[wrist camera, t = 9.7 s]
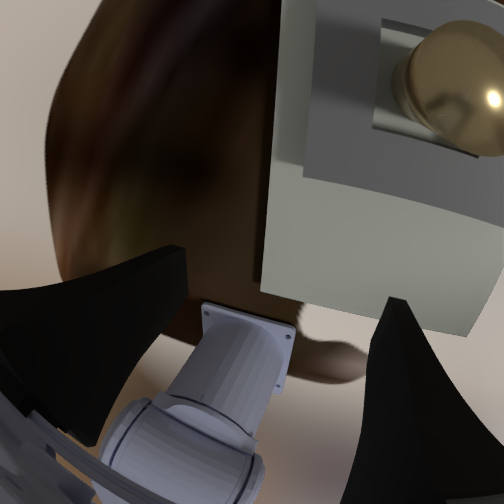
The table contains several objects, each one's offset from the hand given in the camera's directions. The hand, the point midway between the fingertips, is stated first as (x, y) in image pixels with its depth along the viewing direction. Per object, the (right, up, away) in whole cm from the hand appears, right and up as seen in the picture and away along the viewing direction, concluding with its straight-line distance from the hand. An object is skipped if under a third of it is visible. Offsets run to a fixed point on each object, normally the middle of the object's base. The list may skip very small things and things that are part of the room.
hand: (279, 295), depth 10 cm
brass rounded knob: (+8, +10, +2) cm, 13 cm away
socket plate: (+8, +7, +4) cm, 11 cm away
